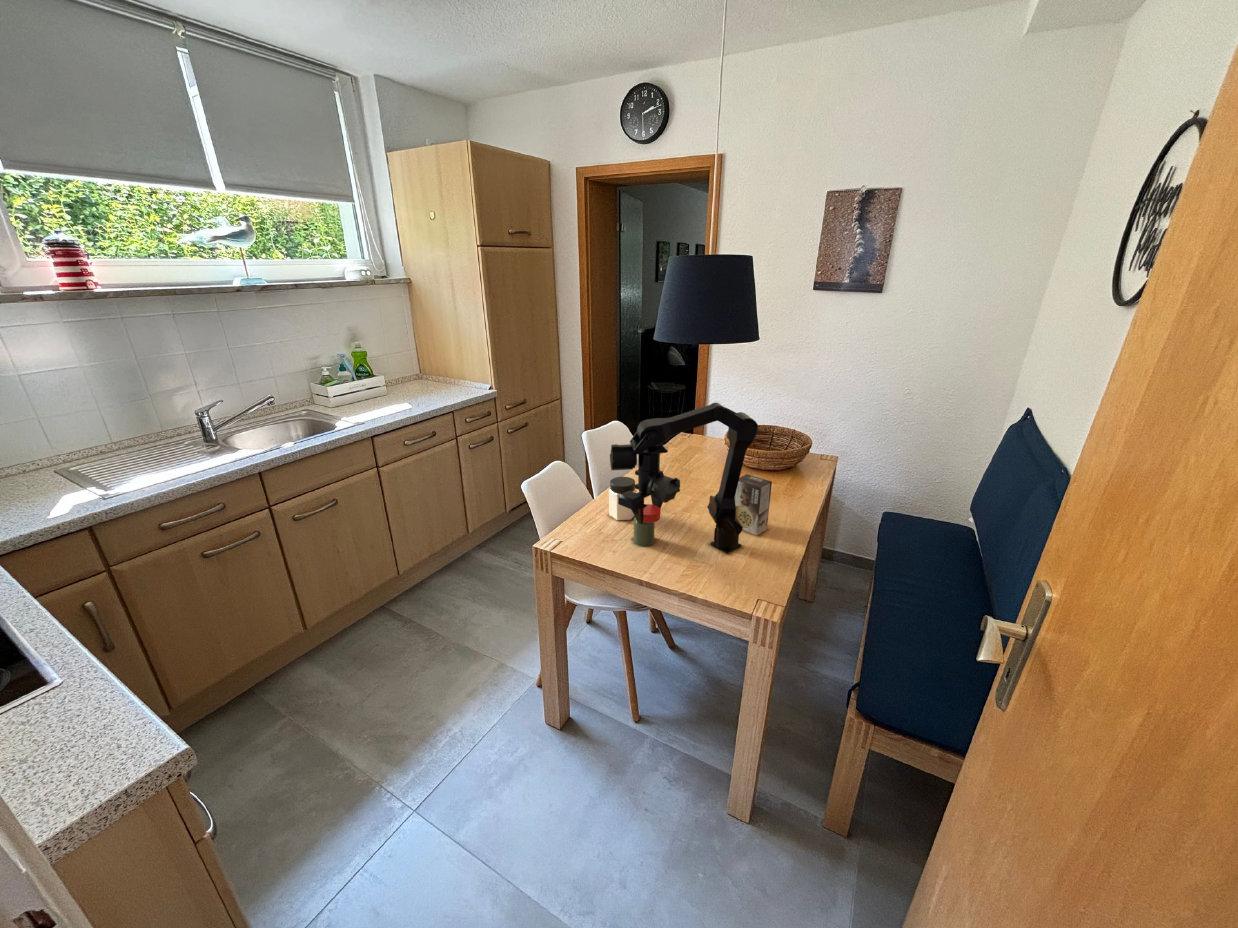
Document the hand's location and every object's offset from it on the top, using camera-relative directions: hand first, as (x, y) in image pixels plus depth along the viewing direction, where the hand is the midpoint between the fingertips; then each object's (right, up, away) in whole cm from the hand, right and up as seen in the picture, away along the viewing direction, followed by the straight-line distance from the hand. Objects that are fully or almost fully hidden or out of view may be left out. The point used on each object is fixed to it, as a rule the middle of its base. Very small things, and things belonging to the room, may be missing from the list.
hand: (648, 519), depth 138 cm
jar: (-7, -1, +25) cm, 26 cm away
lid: (0, +2, -1) cm, 3 cm away
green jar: (-1, -7, +10) cm, 12 cm away
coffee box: (+32, -5, +17) cm, 37 cm away
